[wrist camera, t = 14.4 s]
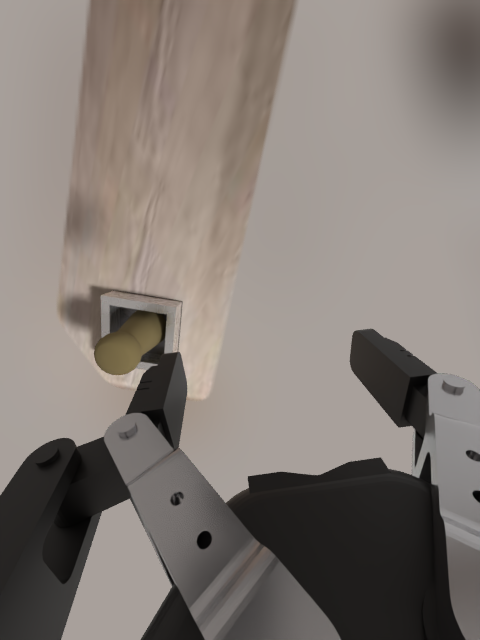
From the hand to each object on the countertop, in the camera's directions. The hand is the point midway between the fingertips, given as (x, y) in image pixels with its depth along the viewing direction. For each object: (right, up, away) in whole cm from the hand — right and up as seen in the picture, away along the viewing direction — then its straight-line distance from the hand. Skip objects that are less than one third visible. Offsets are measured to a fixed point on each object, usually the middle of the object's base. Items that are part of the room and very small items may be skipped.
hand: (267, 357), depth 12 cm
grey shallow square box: (-16, +1, +28) cm, 32 cm away
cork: (-15, +1, +27) cm, 31 cm away
